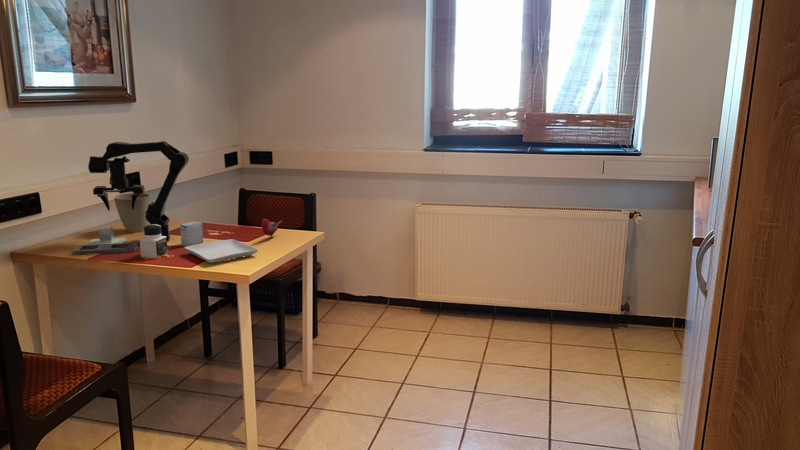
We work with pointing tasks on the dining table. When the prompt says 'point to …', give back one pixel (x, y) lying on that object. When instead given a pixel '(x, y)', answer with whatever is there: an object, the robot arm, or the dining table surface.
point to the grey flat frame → (105, 248)
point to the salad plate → (221, 250)
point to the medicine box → (191, 233)
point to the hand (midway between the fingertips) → (121, 210)
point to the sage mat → (116, 240)
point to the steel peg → (106, 234)
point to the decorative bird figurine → (269, 227)
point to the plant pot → (132, 211)
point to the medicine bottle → (153, 242)
